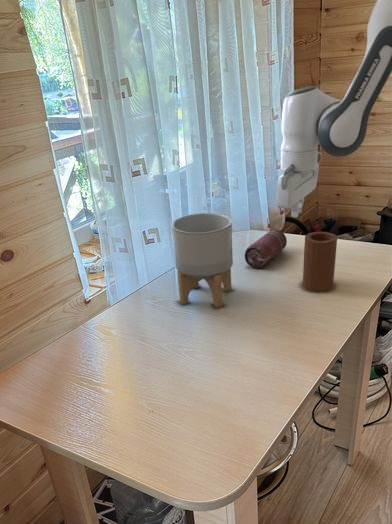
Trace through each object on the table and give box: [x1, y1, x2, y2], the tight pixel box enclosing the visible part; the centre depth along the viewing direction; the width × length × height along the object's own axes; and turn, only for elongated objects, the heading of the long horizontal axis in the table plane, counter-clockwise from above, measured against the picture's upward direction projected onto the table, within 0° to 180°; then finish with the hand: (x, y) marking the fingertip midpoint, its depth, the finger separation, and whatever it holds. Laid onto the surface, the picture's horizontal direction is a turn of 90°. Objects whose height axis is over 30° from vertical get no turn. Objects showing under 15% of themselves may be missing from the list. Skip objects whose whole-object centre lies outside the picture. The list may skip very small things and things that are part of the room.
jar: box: [302, 231, 338, 293], centre depth 119 cm, size 7×7×12 cm
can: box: [244, 228, 288, 269], centre depth 135 cm, size 6×6×14 cm
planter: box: [171, 212, 234, 308], centre depth 116 cm, size 13×13×18 cm
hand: (296, 215), depth 134 cm, fingers closed
